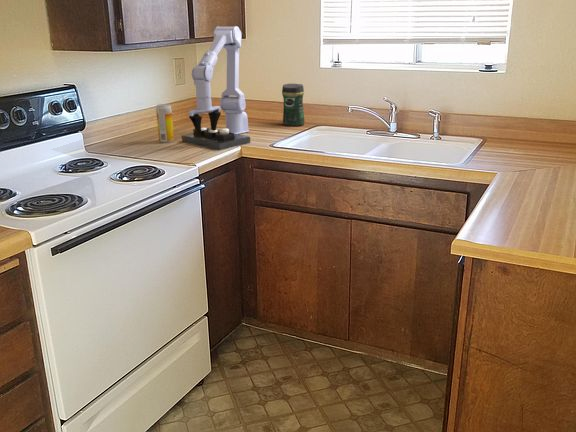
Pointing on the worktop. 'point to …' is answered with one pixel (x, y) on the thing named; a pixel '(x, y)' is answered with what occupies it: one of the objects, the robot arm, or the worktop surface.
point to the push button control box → (215, 139)
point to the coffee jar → (293, 104)
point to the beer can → (165, 123)
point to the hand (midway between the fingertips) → (206, 131)
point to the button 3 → (224, 131)
